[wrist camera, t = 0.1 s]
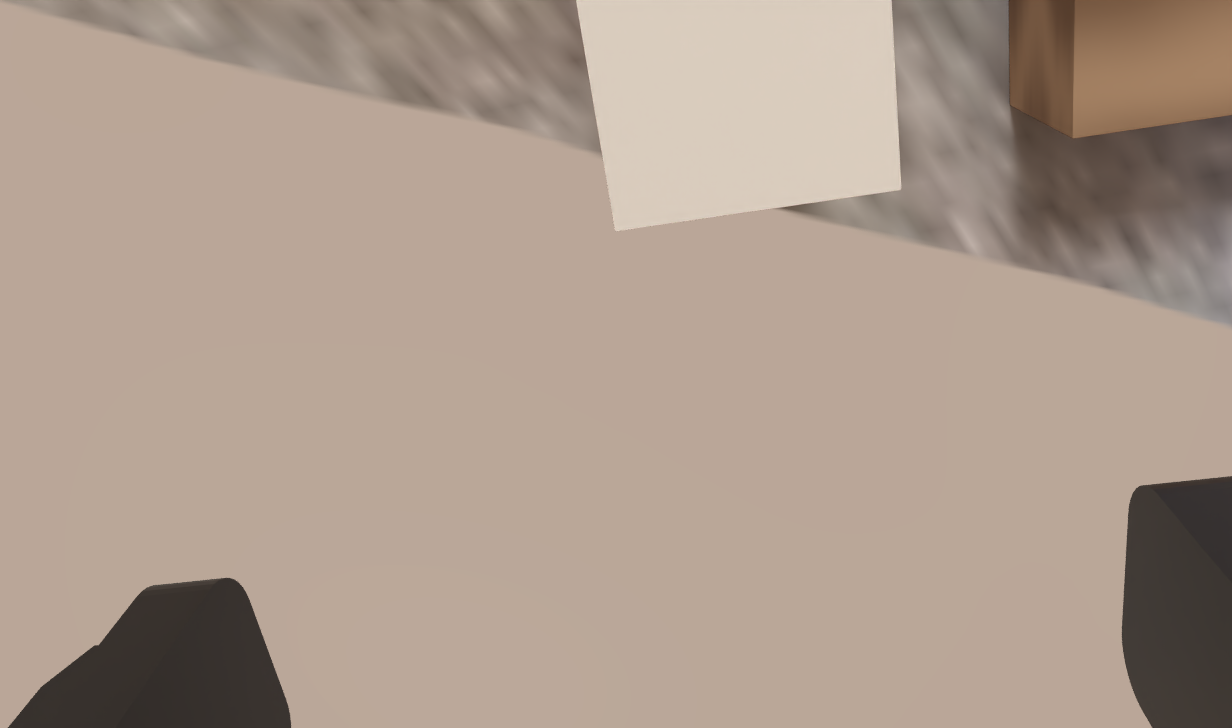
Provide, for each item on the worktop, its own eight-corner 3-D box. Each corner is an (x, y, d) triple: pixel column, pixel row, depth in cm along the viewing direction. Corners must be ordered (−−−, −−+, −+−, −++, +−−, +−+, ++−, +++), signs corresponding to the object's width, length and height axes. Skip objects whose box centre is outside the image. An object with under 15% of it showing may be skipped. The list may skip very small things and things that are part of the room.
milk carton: (608, -76, 34) (562, -73, 19) (789, -108, 33) (886, -131, 18) (635, 106, 36) (614, 232, 21) (805, 79, 35) (902, 190, 21)
